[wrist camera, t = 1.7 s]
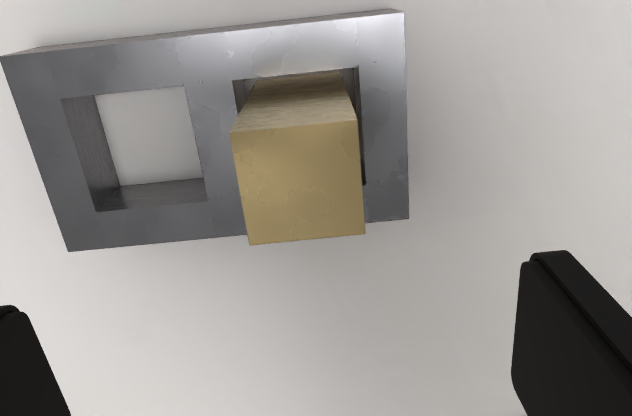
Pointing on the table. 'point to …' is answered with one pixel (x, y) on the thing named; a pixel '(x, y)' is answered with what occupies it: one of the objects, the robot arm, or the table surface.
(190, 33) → the cinder block
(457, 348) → the table surface
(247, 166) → the brass plug
